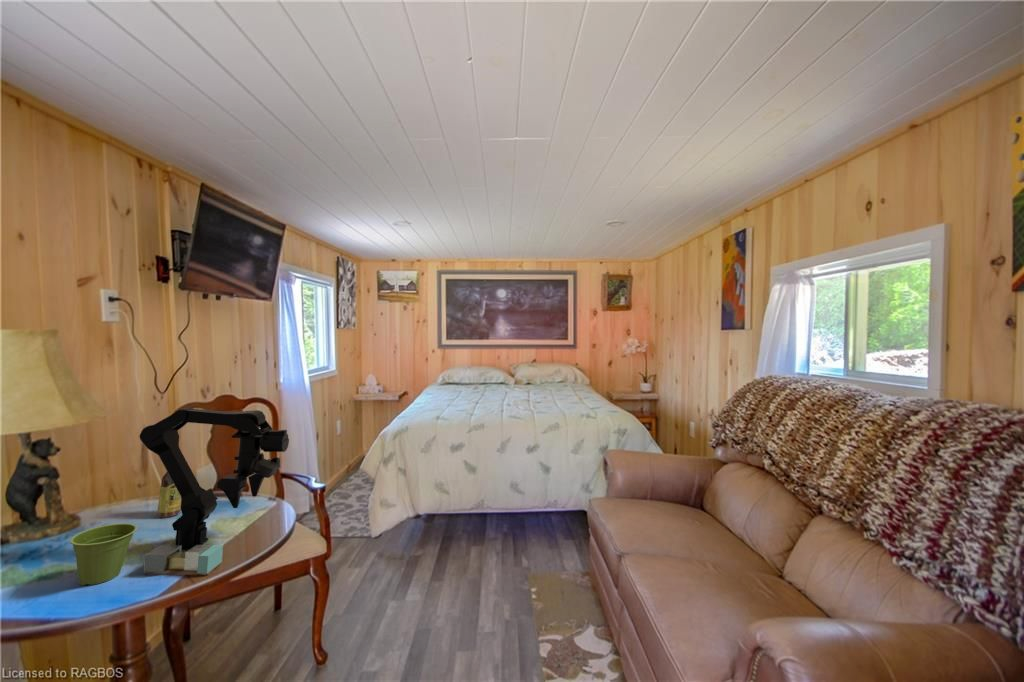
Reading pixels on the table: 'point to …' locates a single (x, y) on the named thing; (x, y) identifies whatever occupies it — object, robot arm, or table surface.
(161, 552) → the dark grey cube
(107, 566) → the plant pot
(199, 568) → the turquoise rectangular block
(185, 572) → the board
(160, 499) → the sauce bottle
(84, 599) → the table surface
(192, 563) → the cream rectangular block
